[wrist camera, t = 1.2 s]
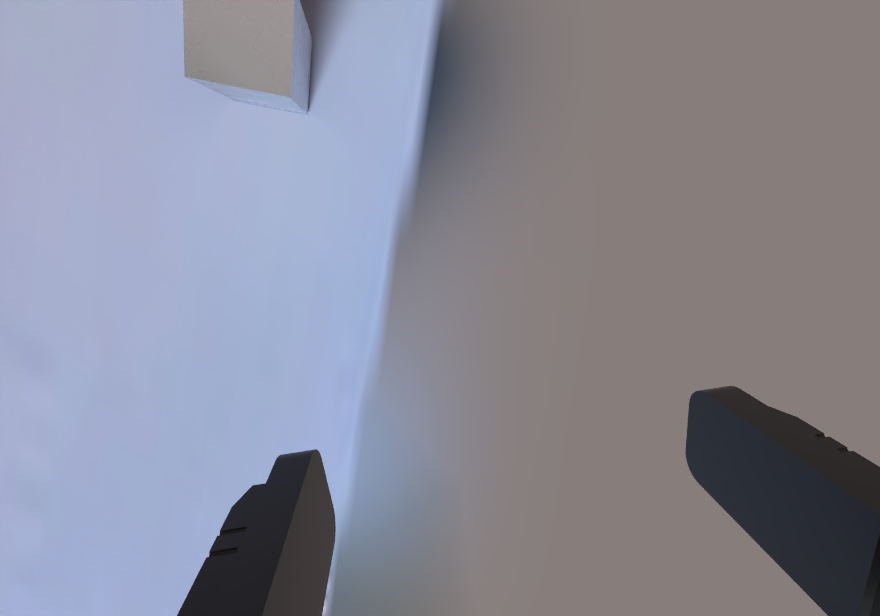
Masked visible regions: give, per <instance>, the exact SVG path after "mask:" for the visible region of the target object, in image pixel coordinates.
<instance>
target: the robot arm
mask: <svg viewBox="0 0 880 616" xmlns="http://www.w3.org/2000/svg"><path fill="white" fill-rule="evenodd" d="M686 459H687V463H688V466H689V469H690V471H691V473H692V475H693V476H694V478H695V479H696V481H697V482H698V483H699V484H700V485H701V486H702V487H703V488H704V489H705V490H706V491H707V492H708V493H709V494H710V495H711V496H712V497H713V498H714V499H715V500H716V502H718V504H719V505H720V506H721V507H722V508H723V509H724V510H725V511H726V512H727V513H728V514H729V515H730V516H731V517H732V518H733V519H734V520H735V521H736V522H737V523H738V524H739V525H740V526H741V527H742V528H743V529H744V530H745V531H746V532H747V533H748V534H749V535H750V536H751V537H752V538H753V539H754V540H755V541H756V542H757V543H758V544H759V545H760V547H761V548H762V549H763V550H764V551H765V552H766V553H767V554H768V555H769V556H770V557H771V558H772V559H773V560H774V561H775V562H776V563H777V564H778V565H779V566H780V567H781V568H782V569H783V570H784V571H785V572H786V573H787V574H788V575H789V576H790V577H791V578H792V579H793V580H794V581H795V582H796V583H797V584H798V585H799V586H800V587H801V588H802V589H803V590H804V591H805V592H806V593H807V595H809V597H810V598H811V599H812V600H813V601H814V602H815V603H816V604H817V605H818V606H819V607H821V609H822V610H823V611H824V612H825V613H826V614H827V615H828V616H880V467H879V466H877V465H875V464H874V463H872V462H871V461H869V460H867V459H866V458H864V457H862V456H861V455H859V454H857V453H856V452H854V451H850V452H849V451H848V449H847V447H845V446H844V445H842V444H841V443H839V442H837V441H835V440H834V439H832V438H831V437H825V436H824V433H822V432H821V431H819V430H817V429H816V428H814V427H813V426H811V425H809V424H808V423H806V422H804V421H803V420H801V419H799V418H798V417H795V416H793V415H790V414H787V413H785V412H782V411H779V410H777V409H774V408H772V407H769V406H766V405H765V404H763V403H762V402H760V401H758V400H757V399H755V398H754V397H752V396H751V395H749V394H747V393H746V392H744V391H742V390H741V389H739V388H737V387H734V386H727V387H721V388H714V389H707V390H701V391H696V392H694V393H693V394H692V396H691V398H690V403H689V415H688V428H687V440H686ZM334 543H335V514H334V508H333V504H332V500H331V495H330V491H329V487H328V483H327V479H326V475H325V471H324V466H323V462H322V458H321V455H320V453H319V451H318V450H310V451H303V452H297V453H290V454H284V455H280V456H278V458H277V459H276V461H275V464H274V466H273V468H272V471H271V473H270V475H269V477H268V480H267V482H266V484H260V485H253V486H252V487H251V488H250V489H249V490H248V491H247V492H246V493H245V494H244V495H243V496H242V497H241V498H240V499H239V500H238V501H237V502H236V503H235V504H234V506H233V507H232V508H231V510H230V512H229V514H228V516H227V518H226V520H225V522H224V524H223V526H222V528H221V530H220V536H217V538H216V540H215V542H214V544H213V546H212V548H211V550H210V552H209V553H210V555H209V557H207V558H206V560H205V562H204V564H203V565H202V567H201V569H200V571H199V573H198V575H197V577H196V579H195V581H194V583H193V585H192V587H191V589H190V591H189V593H188V595H187V597H186V599H185V601H184V603H183V605H182V607H181V609H180V611H179V613H178V615H177V616H322V612H323V606H324V600H325V594H326V589H327V583H328V577H329V572H330V566H331V560H332V555H333V549H334Z"/></svg>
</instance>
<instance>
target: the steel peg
mask: <svg viewBox="0 0 880 616" xmlns="http://www.w3.org/2000/svg"><path fill="white" fill-rule="evenodd" d="M183 16H184V63H185V77H187V78H189V79H191V80H193V81H195V82H197V83H199V84H201V85H203V86H205V87H208V88H210V89H212V90H214V91H216V92H218V93H220V94H222V95H224V96H226V97H228V98H230V99H232V100H235V101H239V102H244V103H249V104H254V105H260V106H265V107H270V108H275V109H281V110H286V111H291V112H296V113H302V114H307V115H308V100H309V83H310V67H311V50H312V37H311V34H310V31H309V27H308V24H307V21H306V18H305V15H304V12H303V9H302V6H301V3H300V0H183Z"/></svg>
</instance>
